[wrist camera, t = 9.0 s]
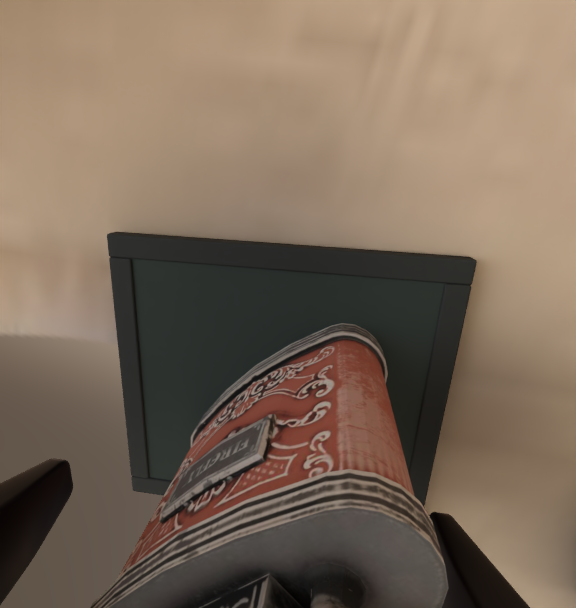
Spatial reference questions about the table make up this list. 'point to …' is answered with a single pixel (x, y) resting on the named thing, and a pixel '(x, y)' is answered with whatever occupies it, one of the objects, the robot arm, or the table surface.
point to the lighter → (292, 495)
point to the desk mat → (274, 332)
